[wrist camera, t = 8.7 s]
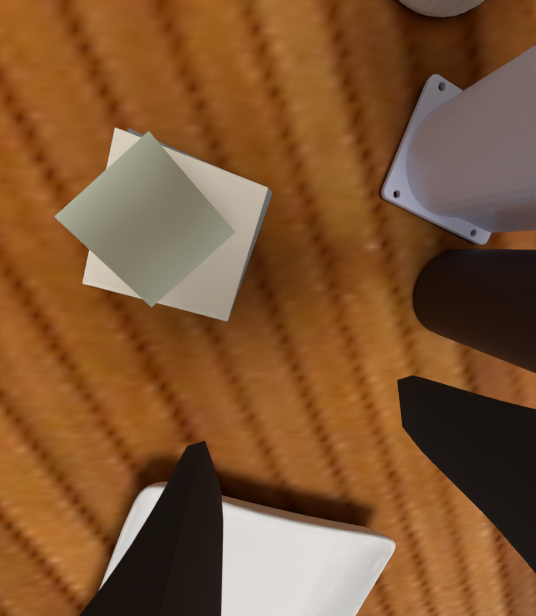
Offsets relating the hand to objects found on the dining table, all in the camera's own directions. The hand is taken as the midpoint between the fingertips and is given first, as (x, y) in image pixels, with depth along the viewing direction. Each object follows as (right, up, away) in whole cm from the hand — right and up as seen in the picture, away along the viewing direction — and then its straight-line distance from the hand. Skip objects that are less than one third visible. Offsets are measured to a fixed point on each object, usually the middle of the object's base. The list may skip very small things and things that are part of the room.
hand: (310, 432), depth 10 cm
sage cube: (-6, +8, +3) cm, 11 cm away
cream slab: (-6, +8, +6) cm, 12 cm away
